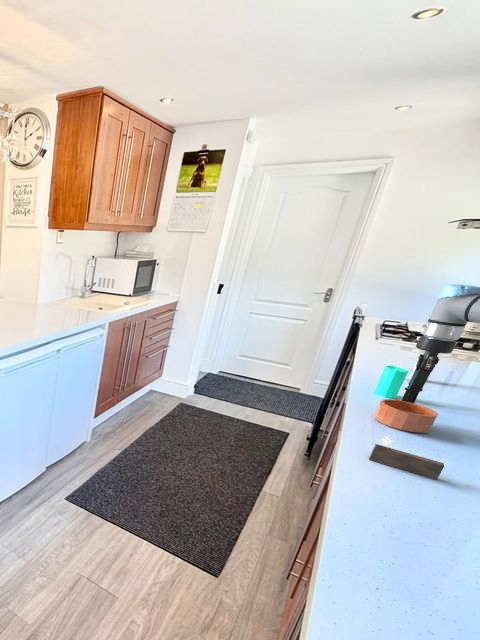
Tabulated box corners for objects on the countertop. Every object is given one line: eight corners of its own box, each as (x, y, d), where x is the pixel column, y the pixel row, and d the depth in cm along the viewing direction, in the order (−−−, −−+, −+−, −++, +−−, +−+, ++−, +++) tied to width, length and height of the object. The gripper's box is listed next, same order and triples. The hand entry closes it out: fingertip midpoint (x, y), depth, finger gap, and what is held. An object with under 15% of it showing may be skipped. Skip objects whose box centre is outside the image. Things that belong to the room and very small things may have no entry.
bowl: (432, 428, 122) (442, 410, 120) (423, 438, 116) (433, 419, 114) (379, 413, 132) (387, 396, 130) (368, 421, 125) (376, 403, 123)
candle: (369, 390, 151) (383, 360, 146) (389, 393, 149) (403, 362, 145) (379, 396, 145) (394, 365, 141) (400, 399, 144) (415, 368, 139)
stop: (435, 477, 97) (443, 463, 95) (436, 480, 96) (444, 466, 94) (369, 456, 105) (375, 443, 103) (368, 459, 103) (375, 446, 102)
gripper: (420, 332, 126) (388, 400, 135) (421, 338, 118) (387, 410, 126) (455, 337, 121) (419, 407, 130) (459, 344, 113) (421, 419, 121)
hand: (403, 409), depth 128 cm, fingers closed
